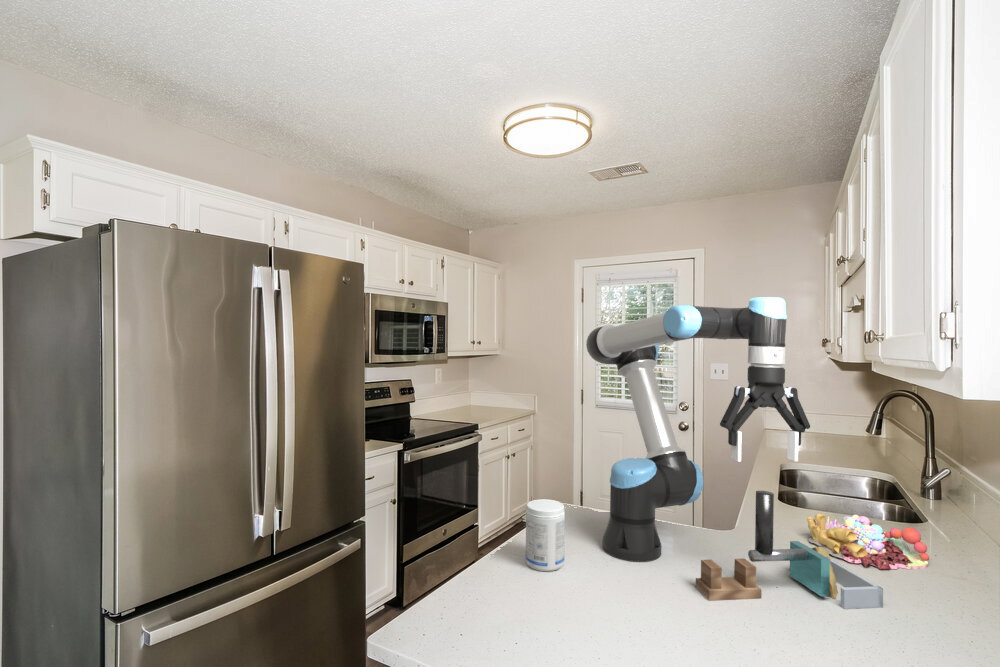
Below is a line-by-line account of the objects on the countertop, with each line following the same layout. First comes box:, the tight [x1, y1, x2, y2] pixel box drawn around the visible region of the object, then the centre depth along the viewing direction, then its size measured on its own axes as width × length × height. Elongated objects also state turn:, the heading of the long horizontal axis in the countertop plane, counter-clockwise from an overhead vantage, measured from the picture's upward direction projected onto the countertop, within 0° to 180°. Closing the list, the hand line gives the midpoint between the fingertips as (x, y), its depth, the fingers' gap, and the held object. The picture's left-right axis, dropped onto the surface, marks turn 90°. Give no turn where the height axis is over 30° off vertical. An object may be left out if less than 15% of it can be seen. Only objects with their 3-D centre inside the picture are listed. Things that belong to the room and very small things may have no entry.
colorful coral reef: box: [806, 513, 930, 570], centre depth 139 cm, size 25×24×9 cm
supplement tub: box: [525, 498, 566, 572], centre depth 127 cm, size 10×10×15 cm
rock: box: [810, 546, 839, 600], centre depth 118 cm, size 10×8×10 cm
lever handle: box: [747, 490, 831, 597], centre depth 116 cm, size 15×10×21 cm, turn 97°
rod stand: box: [695, 557, 762, 601], centre depth 114 cm, size 12×6×6 cm, turn 97°
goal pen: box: [830, 558, 884, 610], centre depth 117 cm, size 9×17×4 cm, turn 7°
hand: (764, 460), depth 116 cm, fingers open, 13 cm apart
